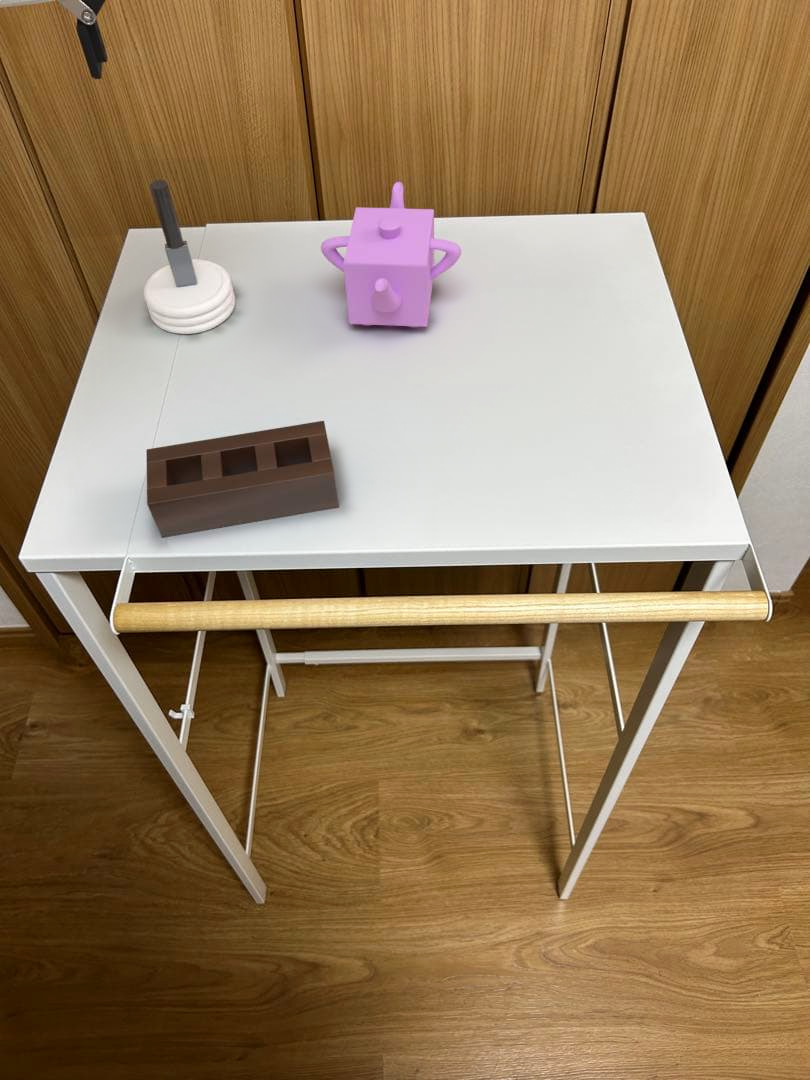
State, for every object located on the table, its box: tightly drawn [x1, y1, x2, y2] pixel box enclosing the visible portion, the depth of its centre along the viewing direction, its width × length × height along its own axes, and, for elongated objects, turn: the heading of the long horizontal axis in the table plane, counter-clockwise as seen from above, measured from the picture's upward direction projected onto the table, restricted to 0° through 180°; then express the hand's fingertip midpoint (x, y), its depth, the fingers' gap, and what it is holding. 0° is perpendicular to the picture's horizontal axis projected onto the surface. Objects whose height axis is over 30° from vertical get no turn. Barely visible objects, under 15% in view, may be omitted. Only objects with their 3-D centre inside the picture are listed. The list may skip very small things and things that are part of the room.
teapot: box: [320, 181, 462, 329], centre depth 92 cm, size 15×13×11 cm
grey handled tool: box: [149, 179, 197, 287], centre depth 90 cm, size 2×2×12 cm
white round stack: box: [143, 258, 236, 335], centre depth 96 cm, size 10×10×4 cm
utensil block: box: [145, 420, 340, 538], centre depth 78 cm, size 7×17×5 cm, turn 101°
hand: (38, 78), depth 68 cm, fingers open, 9 cm apart
